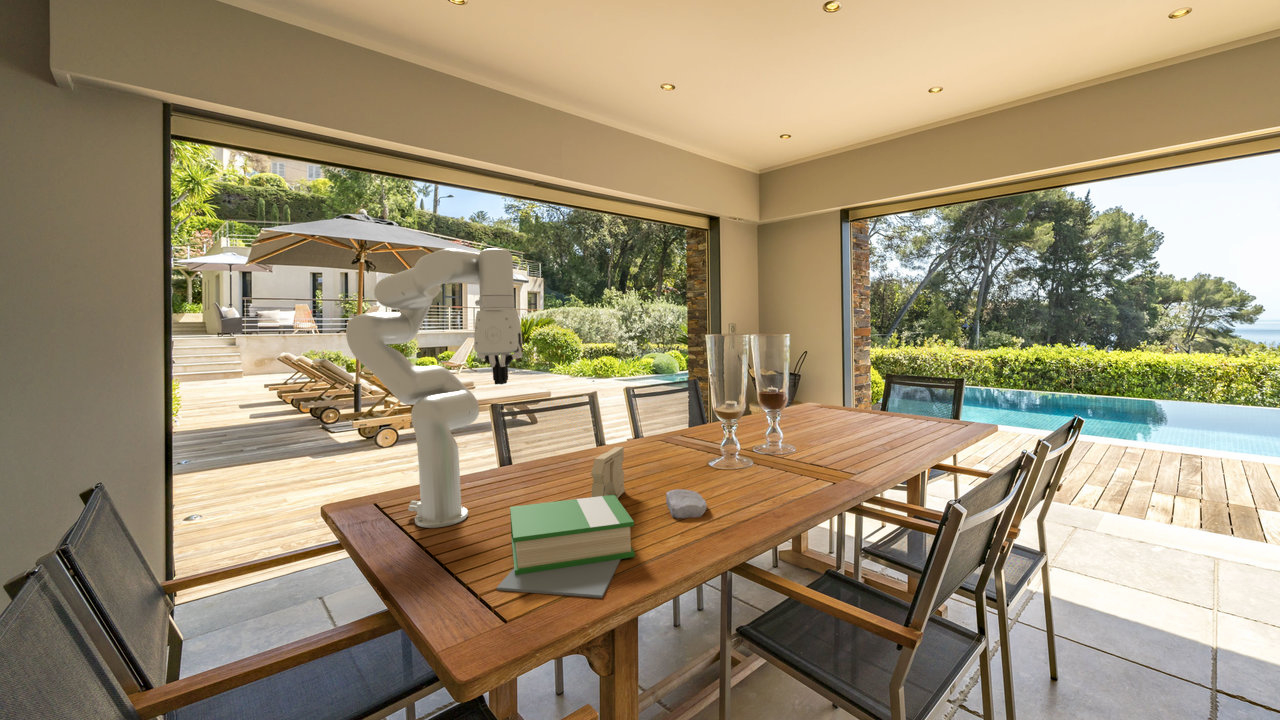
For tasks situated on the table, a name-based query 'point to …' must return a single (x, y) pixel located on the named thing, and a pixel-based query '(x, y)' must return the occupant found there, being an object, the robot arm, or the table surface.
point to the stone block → (685, 503)
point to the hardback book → (569, 533)
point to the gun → (608, 473)
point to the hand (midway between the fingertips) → (500, 383)
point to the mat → (564, 580)
